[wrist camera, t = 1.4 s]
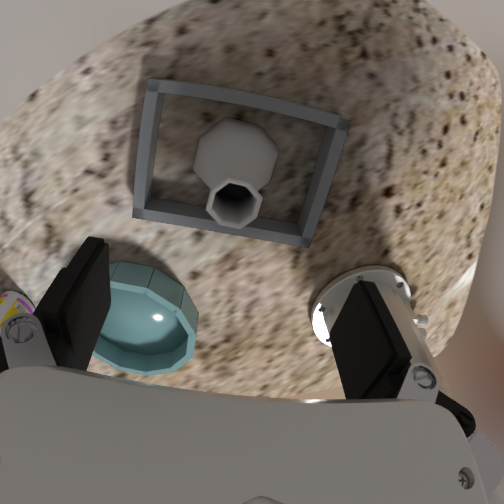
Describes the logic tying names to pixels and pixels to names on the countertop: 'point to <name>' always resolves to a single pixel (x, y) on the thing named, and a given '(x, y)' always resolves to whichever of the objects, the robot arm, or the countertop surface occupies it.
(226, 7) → the countertop surface
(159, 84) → the parts tray
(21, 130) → the countertop surface
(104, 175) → the countertop surface
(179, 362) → the bowl
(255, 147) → the flask
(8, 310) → the supplement bottle
